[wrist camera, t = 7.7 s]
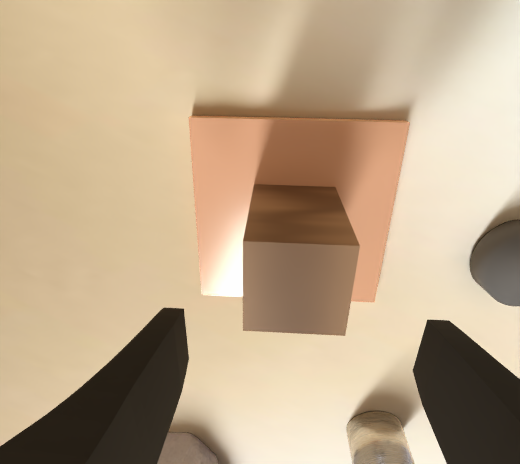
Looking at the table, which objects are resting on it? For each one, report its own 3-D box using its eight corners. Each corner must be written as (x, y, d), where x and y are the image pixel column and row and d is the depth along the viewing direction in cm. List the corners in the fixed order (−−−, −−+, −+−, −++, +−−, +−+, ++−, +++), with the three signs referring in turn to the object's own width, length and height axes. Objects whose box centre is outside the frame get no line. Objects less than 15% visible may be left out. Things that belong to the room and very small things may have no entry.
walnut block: (335, 186, 17) (359, 246, 12) (326, 257, 19) (344, 335, 14) (253, 184, 18) (242, 241, 12) (253, 254, 19) (243, 330, 14)
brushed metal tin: (404, 410, 25) (422, 462, 22) (399, 444, 27) (414, 496, 24) (347, 411, 25) (357, 462, 22) (345, 445, 27) (354, 496, 24)
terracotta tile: (405, 120, 16) (409, 122, 16) (371, 295, 21) (374, 302, 20) (191, 115, 17) (188, 117, 16) (203, 288, 21) (201, 294, 21)
